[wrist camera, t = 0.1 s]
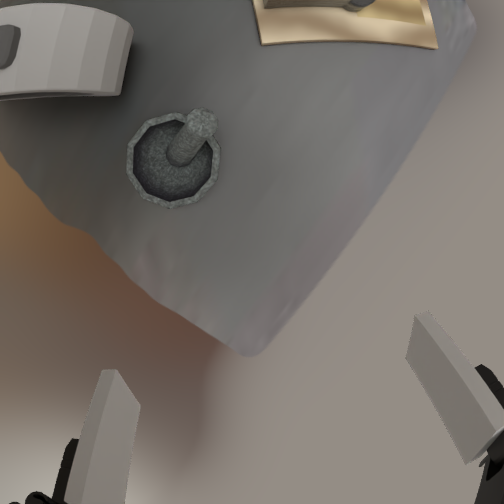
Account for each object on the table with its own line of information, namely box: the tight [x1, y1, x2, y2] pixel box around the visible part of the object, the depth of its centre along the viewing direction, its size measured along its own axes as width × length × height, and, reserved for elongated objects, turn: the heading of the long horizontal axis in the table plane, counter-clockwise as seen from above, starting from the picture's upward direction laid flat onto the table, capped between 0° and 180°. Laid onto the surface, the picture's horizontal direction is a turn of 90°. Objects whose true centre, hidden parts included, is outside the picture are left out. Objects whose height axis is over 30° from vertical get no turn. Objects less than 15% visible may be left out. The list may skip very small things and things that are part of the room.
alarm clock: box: [0, 3, 134, 101], centre depth 19 cm, size 21×8×20 cm, turn 79°
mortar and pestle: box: [126, 108, 221, 209], centre depth 29 cm, size 11×9×12 cm
